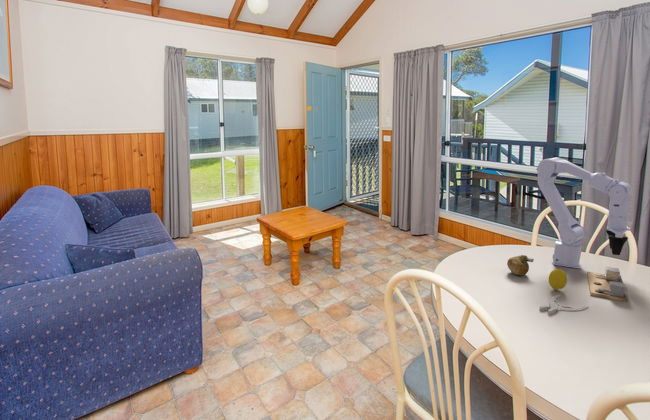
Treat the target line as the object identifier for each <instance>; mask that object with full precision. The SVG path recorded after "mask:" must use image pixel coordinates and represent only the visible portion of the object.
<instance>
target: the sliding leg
mask: <svg viewBox="0 0 650 420" xmlns="http://www.w3.org/2000/svg"><path fill="white" fill-rule="evenodd" d="M604 270H605V271H604V274H605V275H601V274H602V273H600V274H596V275H595V276H599V277H605V279H607V280H613V281H619V275H621V274H620V273H621V271H620V269H619V267H611V266H605V269H604Z"/></svg>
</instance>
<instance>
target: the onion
mask: <svg viewBox="0 0 650 420" xmlns="http://www.w3.org/2000/svg"><path fill="white" fill-rule="evenodd" d="M534 261H535V259H534V258H531V257H528V256H527V255H523V254H521V255H517V256H513V257H510V258H508V259H507V263H506V265H507V268H508V269H509V271H511V273H512V274H513V275H516V276H525V275H526V274H528V272H529V271H530V265H529V263H533V262H534ZM528 262H529V263H528Z"/></svg>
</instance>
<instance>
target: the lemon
mask: <svg viewBox="0 0 650 420" xmlns="http://www.w3.org/2000/svg"><path fill="white" fill-rule="evenodd" d="M567 283H568V276H567V273H566V272H565V271H564V270H563V269H561V268H556V269H553V270H552V271H550V273H549V275H548V284H549V286H550V287H551V288H552V289H554V291H558V290H562V289H563V288H565V287H566V286H567Z"/></svg>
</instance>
